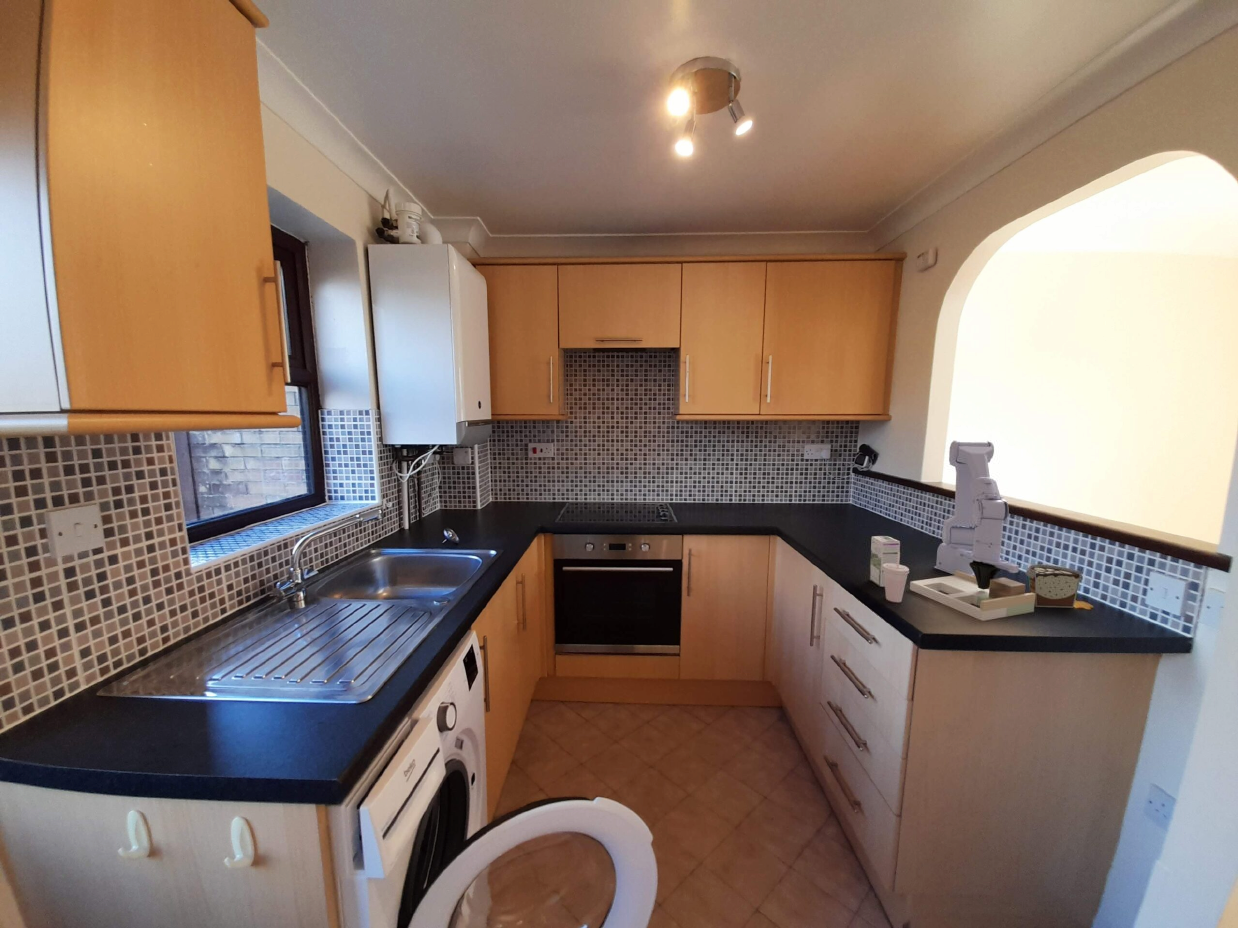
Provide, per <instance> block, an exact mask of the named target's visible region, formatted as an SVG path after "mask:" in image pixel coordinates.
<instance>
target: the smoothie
mask: <svg viewBox="0 0 1238 928" xmlns="http://www.w3.org/2000/svg"><path fill="white" fill-rule="evenodd" d="M900 557H901V552H898V554H897V564H894V563H886V564H883V567H882V569H883V570H884V581H885V587H884V590H885V599H886V600H887V601H889V602H892V603H901V602H903V601H902V600H903V596H904V592H905V586H906V583H907V579H908V574H909V573H910V568H909V567H908V566H906V565H903V564H900Z"/></svg>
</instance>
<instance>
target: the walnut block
mask: <svg viewBox="0 0 1238 928" xmlns="http://www.w3.org/2000/svg"><path fill="white" fill-rule="evenodd" d="M1020 594H1026V584H1025V583H1022V582H1020V581H1016V580H1014V579H1009V578H1007V577H997V578H993V579H990V587H989V597H990V598H993V599H995V598H1001V597H1007V596H1014V595H1020Z"/></svg>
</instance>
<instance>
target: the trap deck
mask: <svg viewBox="0 0 1238 928" xmlns="http://www.w3.org/2000/svg"><path fill="white" fill-rule="evenodd" d="M989 587H990V586H989ZM909 590H910V591H912V592H914V593H916V594H919V595H922V596H924V597H927V598H929V599H931V600H933V601H936V602H938V603H941V604H942V605H944V606H947V607H949V608H952V609H955V610H956V611H958V612H961V613H964V614H966V615H968V616H971V617H972V618H975V619H977V620H979V621H982V622H984V621H990V620H994V619H996V620H997V619H1001V618H1002V619H1003V618H1006V617H1007V618H1008V617H1012V616H1017V615H1023V614H1028V613H1034V612H1035V606H1034V604H1035V593H1029V592H1027V593H1026V592H1025V594H1020V595H1014V596H1007V597H1001V598H995V599H993V598H990V597H989V588H988V589H984V590H983V589H980V588H978V585H977V580H976V577H975V576H971V575H969V574H966V573H963V572H960V571H955V575H948V576H940V577H933V578H932V577H931V578H927V579H920V580H913V581H910V583H909ZM940 591H941V592H940ZM946 593H947V594H946ZM972 604H974V605H975V606H974V605H972ZM977 606H978V607H977Z"/></svg>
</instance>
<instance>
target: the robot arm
mask: <svg viewBox="0 0 1238 928" xmlns="http://www.w3.org/2000/svg"><path fill="white" fill-rule="evenodd" d="M994 453H995V445H994V443H993V442H992V441H991V440H982V441H981V440H956V439H955V440H952V442H951V443H950V445H949V452H948V455H949V456H948V462H949V465H950V466H952V467H955V474H956V475H955V490H954V491H955V495H954V496H955V497H954V515H953V516H951V517H950V518H947V519H945V520H944V522H943V525H942V526H943V527H942V529H941V540H942V542H941V543H940V544H939V546H938V547H937V552H936V565H935V566H934V569H936V570H939V571H942V572H945V573H948V574H951V575H952V576H954V575H955V571H960V572H963V573H966V574H969V575H971V576H974V577H976V580H977V585H978V588H980V589H983V590H984V589H988V588H989V586H990V579H995V577H996V576H997V574H998V573H999V572H1000V571H1002V570H1005V571H1007V572H1009V573H1011V574H1015V573H1019V569H1020V568H1019V567H1020V565H1018V564H1016V563H1013V562H1010V561H1007V560H1005V559H1003V558H1001V551H1002V550H1001V549H1002V539H1003V527H1004V522H1005V521H1007V519H1008V517H1009V513H1010V512H1009V509H1010V508H1009V504H1008V501H1007V500H1006V499H1005V498H1004V497H1003V496H1001V494H1000V490H999V487H998V484H997V481H996V480H995V479H993V478H991V475H990V468H989V463H990V462H991V461H992V459H993V457H994Z"/></svg>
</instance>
